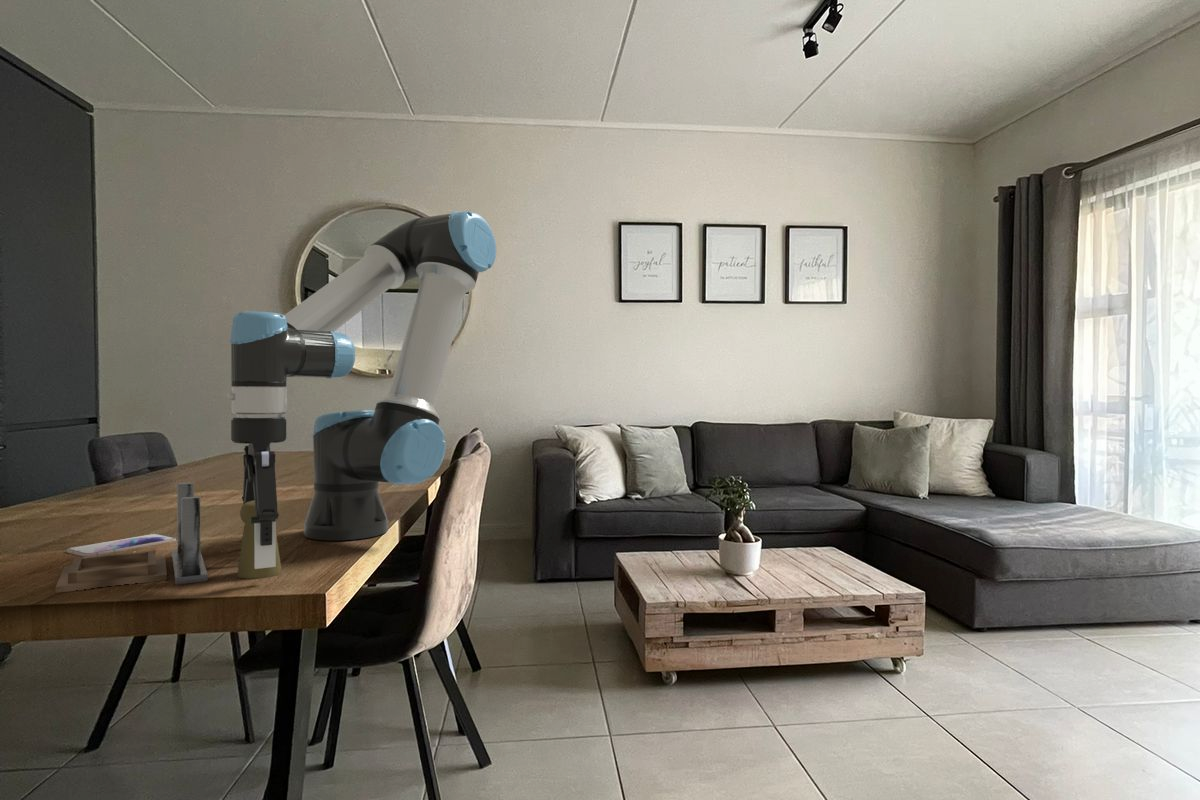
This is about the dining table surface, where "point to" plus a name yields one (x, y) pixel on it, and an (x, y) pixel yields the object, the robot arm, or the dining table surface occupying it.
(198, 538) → the clip
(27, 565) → the dining table surface
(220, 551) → the dining table surface
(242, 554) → the cork
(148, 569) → the end holder
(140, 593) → the dining table surface
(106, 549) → the smartphone
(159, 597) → the dining table surface
